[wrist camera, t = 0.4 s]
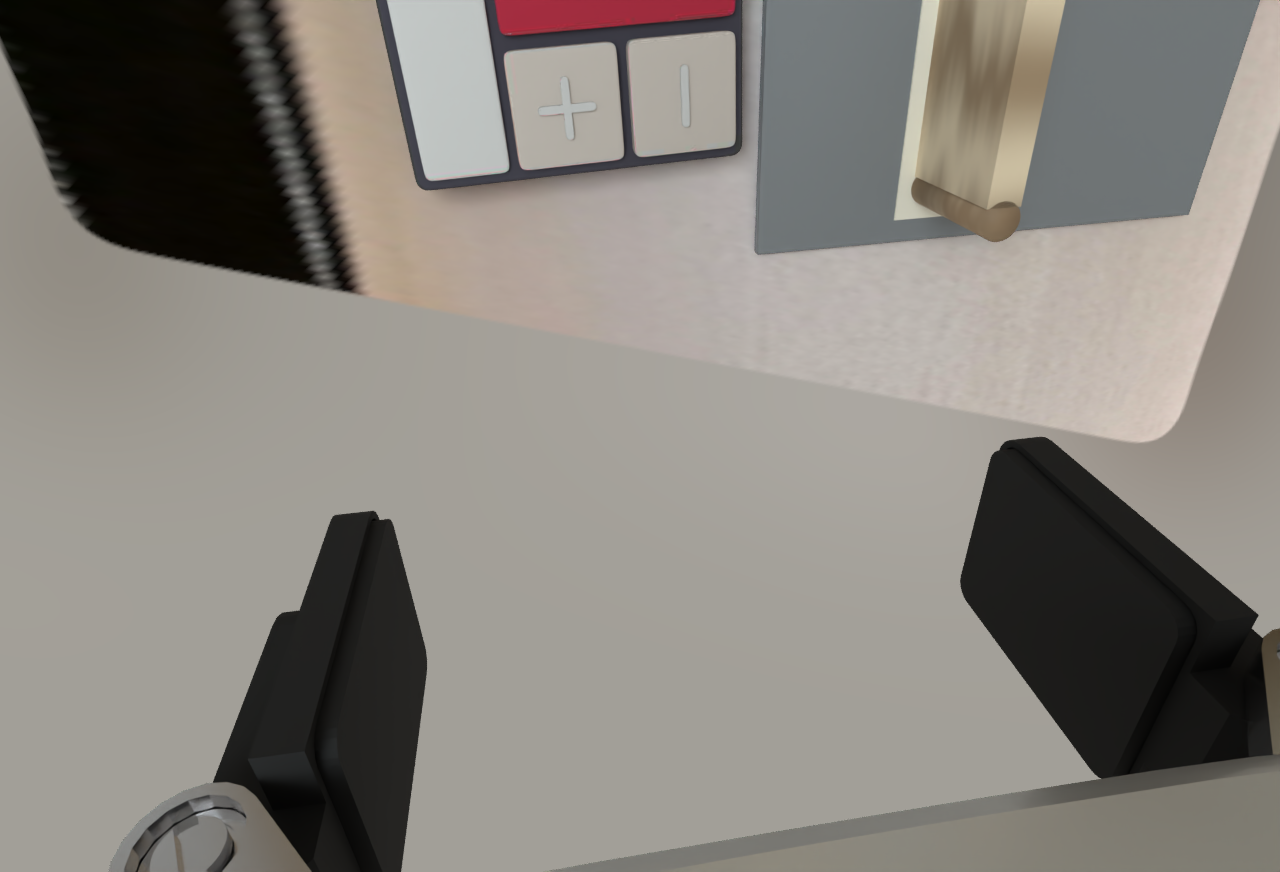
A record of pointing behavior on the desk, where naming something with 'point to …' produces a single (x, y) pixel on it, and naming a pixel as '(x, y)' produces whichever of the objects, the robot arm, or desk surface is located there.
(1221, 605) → the robot arm
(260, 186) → the desk surface
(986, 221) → the panel
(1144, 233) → the desk surface
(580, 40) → the calculator
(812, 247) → the mat
